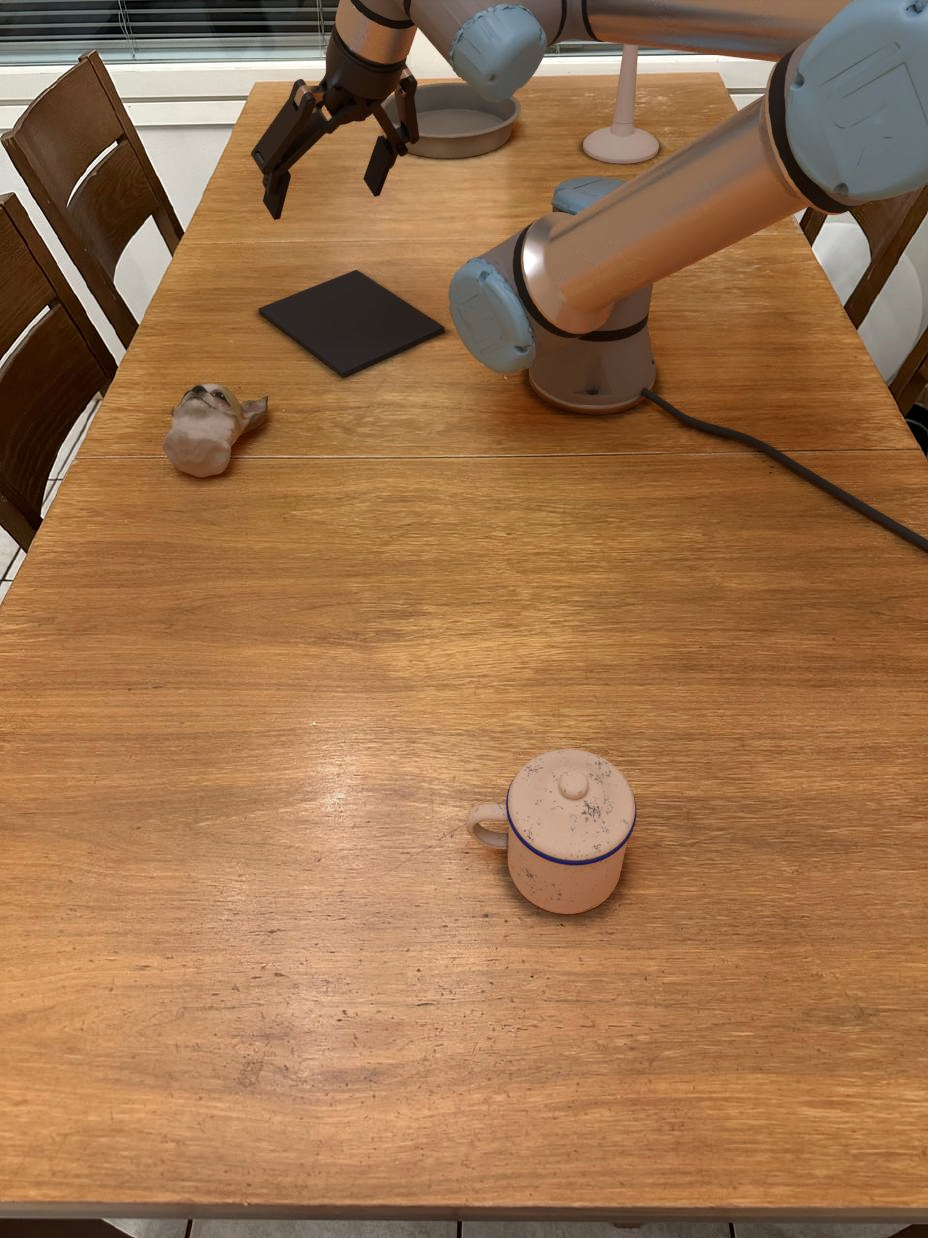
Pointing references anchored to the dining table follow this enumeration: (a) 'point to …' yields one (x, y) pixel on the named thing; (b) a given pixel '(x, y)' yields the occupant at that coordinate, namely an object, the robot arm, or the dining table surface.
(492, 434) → the dining table surface
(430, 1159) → the dining table surface
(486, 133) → the cake pan
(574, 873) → the teacup with lid
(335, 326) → the desk pad
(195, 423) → the ceramic sculpture
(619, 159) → the candlestick
